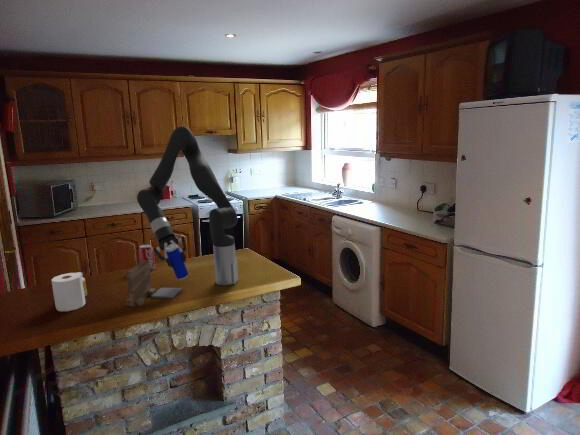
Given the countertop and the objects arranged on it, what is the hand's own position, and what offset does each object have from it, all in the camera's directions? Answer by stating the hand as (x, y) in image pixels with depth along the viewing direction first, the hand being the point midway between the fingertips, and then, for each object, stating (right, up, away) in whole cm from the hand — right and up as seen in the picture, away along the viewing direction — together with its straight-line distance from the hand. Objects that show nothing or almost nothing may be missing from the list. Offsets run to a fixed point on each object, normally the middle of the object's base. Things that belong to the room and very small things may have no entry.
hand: (178, 263), depth 177 cm
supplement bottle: (-41, -13, 0) cm, 43 cm away
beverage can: (+1, -6, +5) cm, 8 cm away
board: (-13, -13, -5) cm, 20 cm away
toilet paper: (-39, -16, -10) cm, 44 cm away
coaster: (-4, -12, -1) cm, 13 cm away
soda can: (-23, -6, +31) cm, 39 cm away
